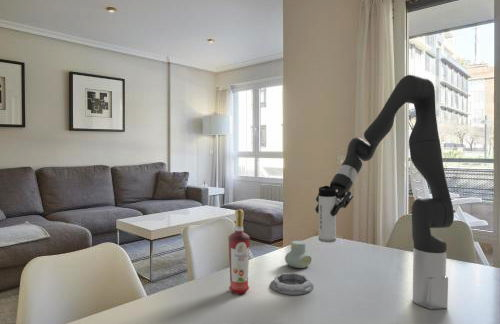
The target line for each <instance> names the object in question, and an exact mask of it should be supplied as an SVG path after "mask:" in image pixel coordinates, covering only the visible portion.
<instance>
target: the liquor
mask: <svg viewBox="0 0 500 324" xmlns="http://www.w3.org/2000/svg"><path fill="white" fill-rule="evenodd" d="M234 214H235V216H234V217H235V227H234V232H233V233H231V234H229V236H228V239H227V240H228V257H229V258H228V259H229V276H230V277H229V281H230V283H229V284H230V285H229V287H228V288H229V291H231V292H232V293H233V294H234V295H235V294H236V295H243V294H245V293H247V291H248V290H249V289H250V286H249V260H250V259H249V258H250V241H251V239H250V238H251V236H250V235H248V234H247V233H246V232H244V221H243V218H244V210H243V209H235V210H234Z"/></svg>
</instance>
